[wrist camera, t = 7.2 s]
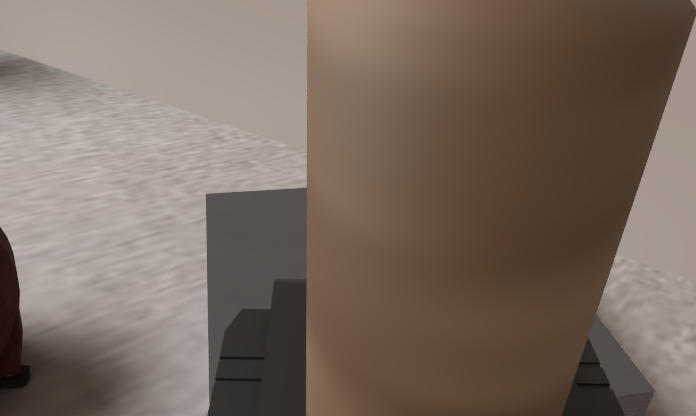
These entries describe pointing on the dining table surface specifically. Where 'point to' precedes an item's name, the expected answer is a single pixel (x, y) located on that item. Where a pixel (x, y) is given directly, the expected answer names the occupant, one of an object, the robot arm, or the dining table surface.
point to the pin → (471, 193)
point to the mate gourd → (10, 321)
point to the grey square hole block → (291, 263)
